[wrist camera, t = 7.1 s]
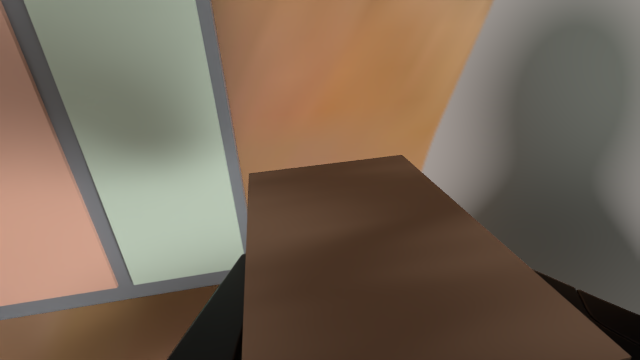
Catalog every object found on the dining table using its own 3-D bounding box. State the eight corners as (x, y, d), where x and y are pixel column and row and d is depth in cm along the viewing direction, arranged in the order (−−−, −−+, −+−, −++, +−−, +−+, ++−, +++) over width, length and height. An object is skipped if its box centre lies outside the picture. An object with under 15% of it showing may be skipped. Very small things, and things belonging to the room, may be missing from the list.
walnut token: (401, 154, 9) (632, 357, 3) (395, 272, 11) (542, 529, 5) (249, 173, 8) (238, 447, 3) (268, 294, 10) (285, 606, 5)
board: (190, -117, 11) (186, -126, 11) (258, 270, 19) (258, 280, 18) (-269, -113, 10) (-311, -125, 9) (2, 311, 17) (-9, 324, 16)
